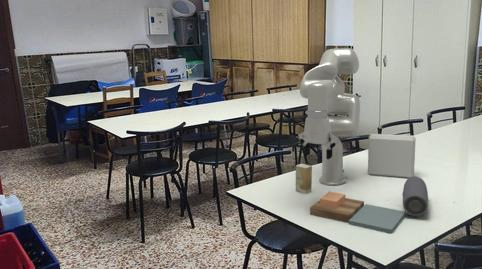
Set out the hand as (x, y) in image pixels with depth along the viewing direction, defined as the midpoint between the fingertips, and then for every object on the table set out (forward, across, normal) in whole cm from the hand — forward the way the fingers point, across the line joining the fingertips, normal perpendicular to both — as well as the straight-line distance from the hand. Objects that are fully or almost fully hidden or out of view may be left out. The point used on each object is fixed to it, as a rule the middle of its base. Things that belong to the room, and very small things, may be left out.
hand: (318, 156), depth 170 cm
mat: (+22, +24, +2) cm, 32 cm away
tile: (+17, +6, +1) cm, 18 cm away
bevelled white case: (+22, +10, +55) cm, 60 cm away
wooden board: (+22, +8, +1) cm, 23 cm away
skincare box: (+22, -15, +14) cm, 30 cm away
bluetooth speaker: (+22, +32, +20) cm, 44 cm away
